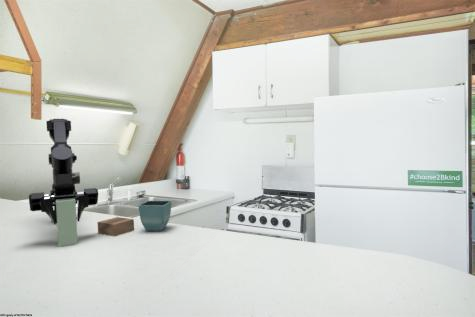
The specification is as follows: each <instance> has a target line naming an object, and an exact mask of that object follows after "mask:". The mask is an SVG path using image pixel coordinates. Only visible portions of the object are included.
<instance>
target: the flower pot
mask: <svg viewBox="0 0 475 317" xmlns="http://www.w3.org/2000/svg"><path fill="white" fill-rule="evenodd" d="M172 203H173V202H172V200H147V201H144V202H142V203H140V204H139V205H138V206H137V207H138V211H139V218H140V222H141V225H142V226H143V228H144V229H145V231H147V232H149V231H151V232H153V231H154V232H157V231H159V232H161V231H163V230H164V229H165V228H166V227H167V225H168V223H169V221H170V218H171V212H172Z"/></svg>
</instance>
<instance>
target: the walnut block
mask: <svg viewBox="0 0 475 317" xmlns="http://www.w3.org/2000/svg"><path fill="white" fill-rule="evenodd" d="M134 230H135V220H134V218H126V217H119V216H116V217H112V218H108V219H105V220H101V221H97V234H100V235H104V234H105V235H106V236H112V237H117V236H120V235H123V234H126V233H130V232H134ZM105 235H104V236H105Z"/></svg>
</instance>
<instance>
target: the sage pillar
mask: <svg viewBox="0 0 475 317" xmlns="http://www.w3.org/2000/svg"><path fill="white" fill-rule="evenodd" d="M76 208H77V206H76V203H75V198H67V199H57V200H56V212H57V222H56V226H57V227H56V228H57V241H58V243H57V244H58V247H67V246H72V245H73V246H74V245H78V244H79V242H78V241H79V240H78V226H77V225H78V224H77V222H78V220H77V219H76V217H77V209H76Z"/></svg>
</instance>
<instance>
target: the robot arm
mask: <svg viewBox="0 0 475 317" xmlns="http://www.w3.org/2000/svg"><path fill="white" fill-rule="evenodd" d="M71 131H72V120H68V119H67V118H53V119H52V118H51V119H49V120H46V132H48V134H49V138H50V139H51V141H52V142H53V143H54V144H53V145H52V146H51V147H50V153H48V165H51V168H52V180H53V181H52V182H53V183H52V185H51V189H52V190H50V191H49V192H50V193H49V194H45V192H32V193H30V194H29V195H28V204H29V211H31V212H38V211H40V212H42V213H45V214H46V215H47V216H48V217H49V219H50V220H51V223H53V225H57V212H56V200H57V199H67V198H75V203H76V204H77V212H76V221H77V222H80V221H81V216H82V214H83V212H84V210H85V209H87V208H88V207H89V206H93V205H97V204H98V201H99V189H98V188H96V187H91V188H90V187H89V188H83V193H78V192H77V191H76V186H75V185H79V184H80V183H81V176H80V172H73V164H75V163H76V161H78V158H77V157H78V156H77V155H75V153H74V152H73V150H72V147H71V146H70V145H69V144H68V141H67V140H68V139H69V137H70V132H71Z"/></svg>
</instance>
